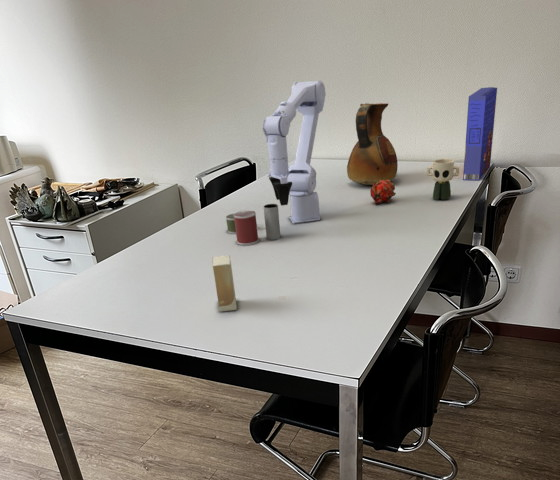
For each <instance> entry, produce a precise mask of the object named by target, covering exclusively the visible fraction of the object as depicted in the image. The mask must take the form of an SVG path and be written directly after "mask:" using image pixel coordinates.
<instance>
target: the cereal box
mask: <svg viewBox="0 0 560 480" xmlns="http://www.w3.org/2000/svg"><path fill="white" fill-rule="evenodd" d="M497 95H498V87H493V86H490V87H489V86H488V87H481V88H479V89H478V90H476V91H475V92H472V94H470V95H469V96H468V102H467V115H466V116H467V118H466V131H465V144H464V145H465V146H464V159H463V174H462V175H463V177H462V180H463V181H480V180H481V178H482V177H483V176H484V175H485V174H486V173H487V171H488V170H489V169H490V168H491V161H492V150H493V141H494V140H493V139H494V130H495V129H494V128H495V118H496V105H497Z"/></svg>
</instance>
